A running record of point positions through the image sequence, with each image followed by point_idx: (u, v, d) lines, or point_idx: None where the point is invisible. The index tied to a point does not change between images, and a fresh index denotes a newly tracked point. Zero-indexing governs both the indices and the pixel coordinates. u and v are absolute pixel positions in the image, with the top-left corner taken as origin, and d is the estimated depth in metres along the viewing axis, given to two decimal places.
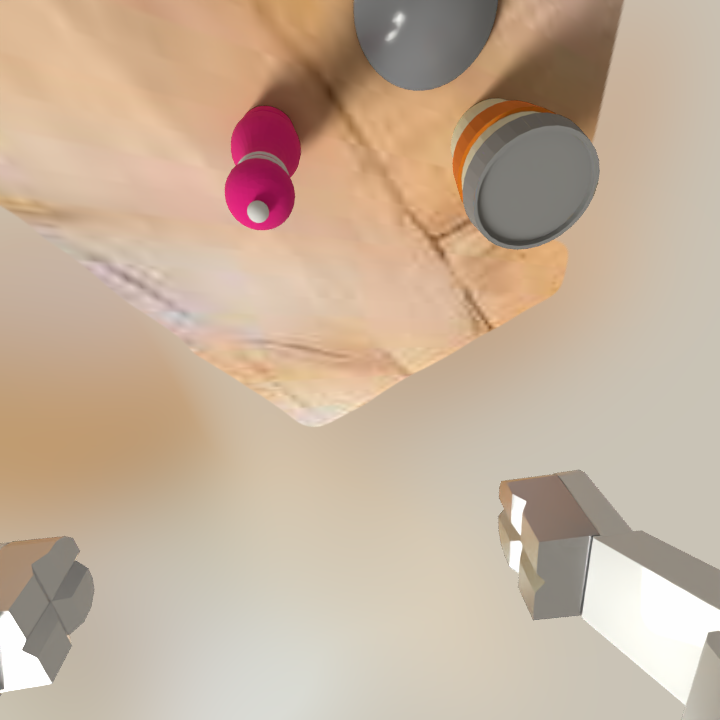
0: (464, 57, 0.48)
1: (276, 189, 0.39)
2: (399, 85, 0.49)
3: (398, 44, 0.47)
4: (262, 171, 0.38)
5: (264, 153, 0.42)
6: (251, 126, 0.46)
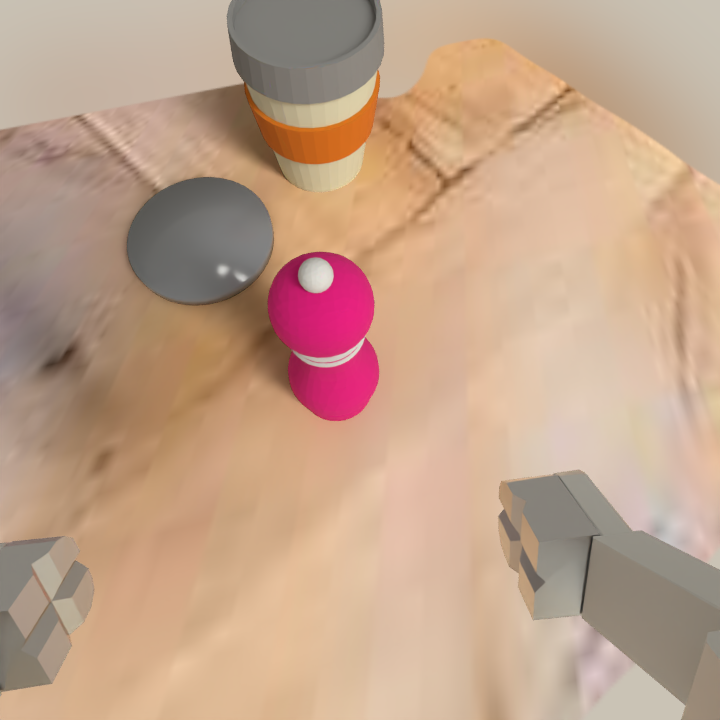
0: (240, 194, 0.47)
1: (291, 264, 0.25)
2: (267, 246, 0.45)
3: (230, 254, 0.45)
4: (271, 289, 0.25)
5: None
6: (294, 377, 0.35)
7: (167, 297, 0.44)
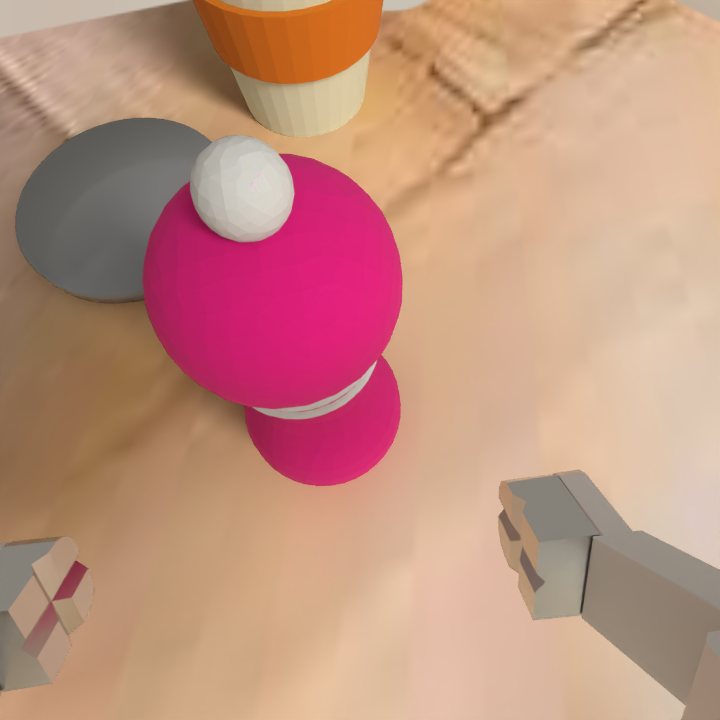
0: (186, 140, 0.32)
1: None
2: None
3: None
4: None
5: None
6: (251, 424, 0.19)
7: (71, 292, 0.29)
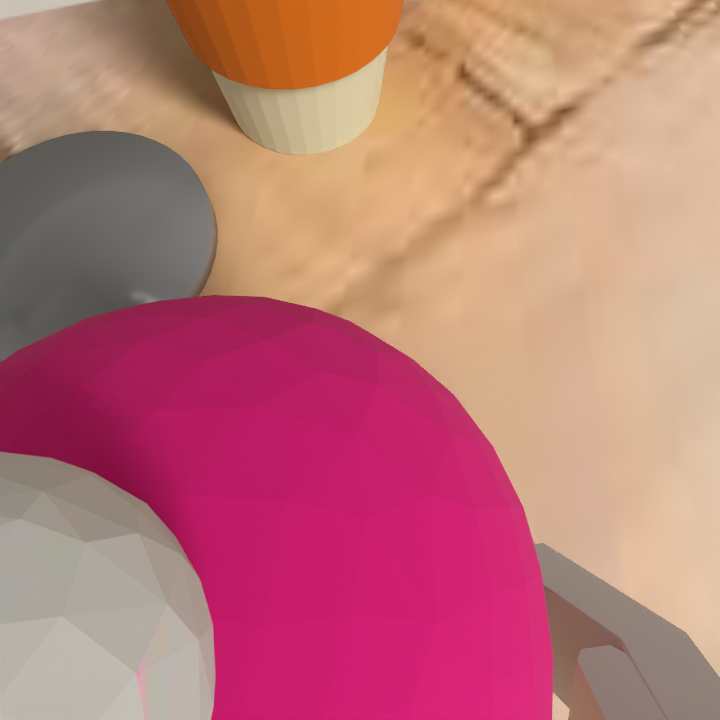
0: (154, 159, 0.26)
1: None
2: (201, 255, 0.23)
3: (127, 271, 0.23)
4: None
5: None
6: None
7: (0, 360, 0.22)
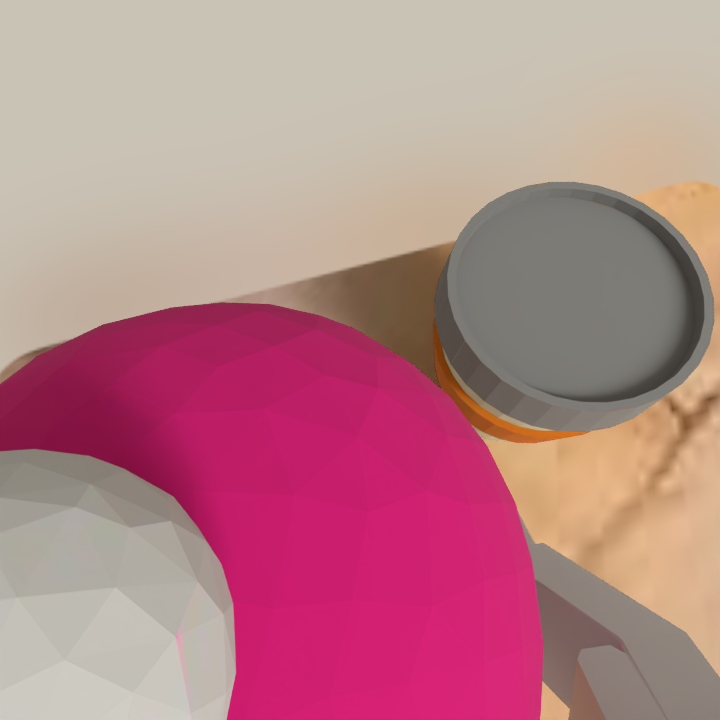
0: None
1: None
2: None
3: None
4: None
5: None
6: None
7: None
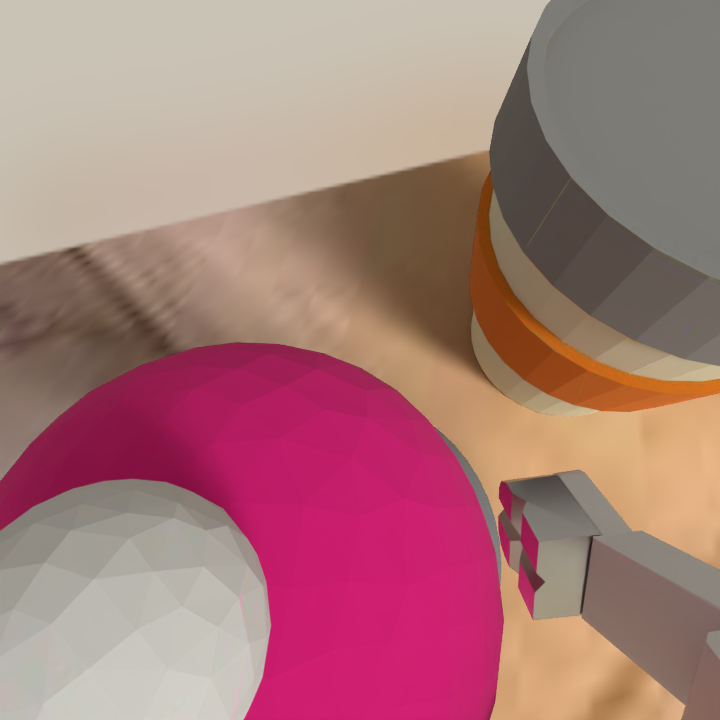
0: None
1: (52, 440, 0.04)
2: None
3: None
4: None
5: None
6: None
7: None
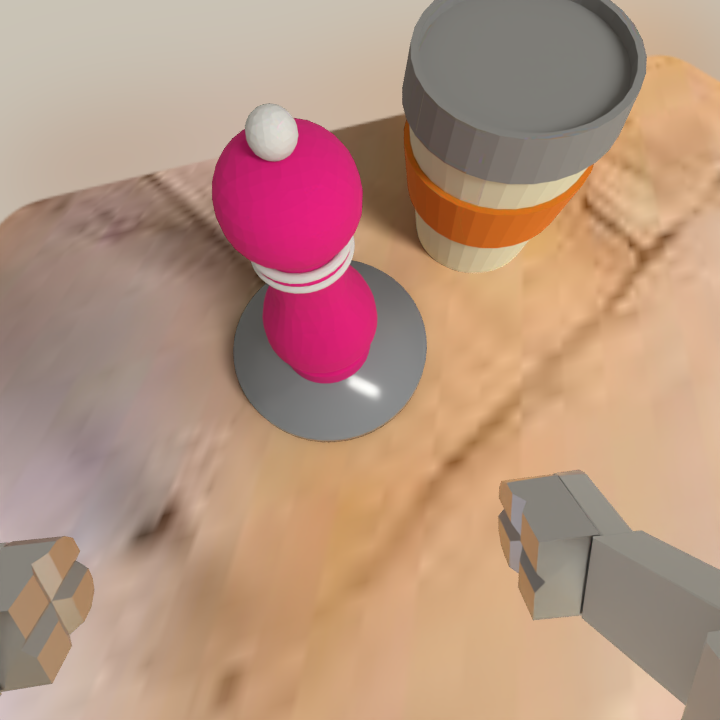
0: (376, 282, 0.35)
1: (241, 132, 0.18)
2: (423, 358, 0.33)
3: (374, 370, 0.33)
4: (214, 171, 0.18)
5: None
6: (268, 323, 0.27)
7: (295, 434, 0.32)
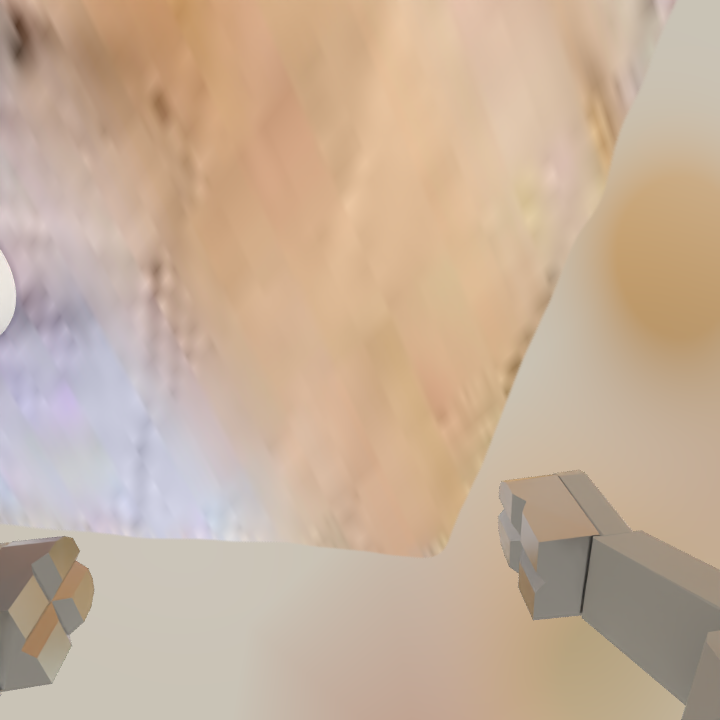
0: None
1: None
2: None
3: None
4: None
5: None
6: None
7: None
